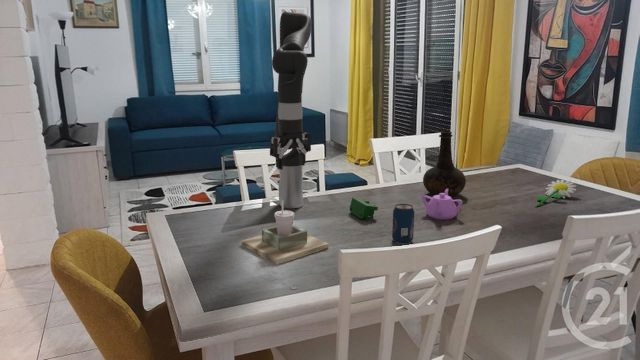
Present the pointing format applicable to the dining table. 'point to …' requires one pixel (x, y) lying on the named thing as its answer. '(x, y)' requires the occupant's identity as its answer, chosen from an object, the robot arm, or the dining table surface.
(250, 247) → the collar stand
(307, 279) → the dining table surface
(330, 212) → the dining table surface
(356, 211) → the toy dumpster
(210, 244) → the dining table surface
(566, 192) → the decorative flower
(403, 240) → the soda can
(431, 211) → the teapot
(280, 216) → the smoothie
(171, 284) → the dining table surface
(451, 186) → the glass bottle
